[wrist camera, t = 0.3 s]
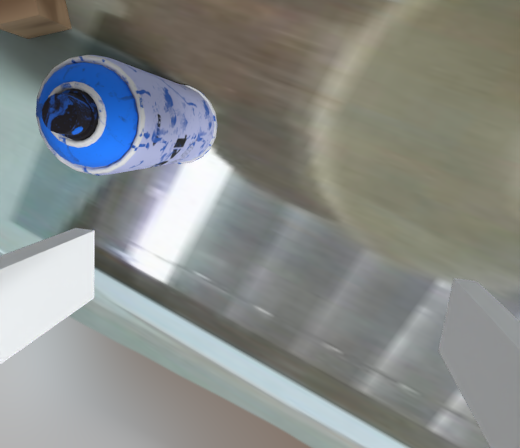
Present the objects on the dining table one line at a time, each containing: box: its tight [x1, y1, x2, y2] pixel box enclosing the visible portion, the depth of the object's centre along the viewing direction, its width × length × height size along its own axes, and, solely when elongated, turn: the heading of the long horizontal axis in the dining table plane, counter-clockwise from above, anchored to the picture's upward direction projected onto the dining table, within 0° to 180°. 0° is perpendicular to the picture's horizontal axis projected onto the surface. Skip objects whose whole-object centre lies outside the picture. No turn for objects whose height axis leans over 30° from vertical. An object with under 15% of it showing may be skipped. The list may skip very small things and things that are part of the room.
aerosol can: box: [36, 55, 218, 176], centre depth 32 cm, size 8×8×20 cm
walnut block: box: [0, 0, 72, 39], centre depth 39 cm, size 5×5×5 cm
